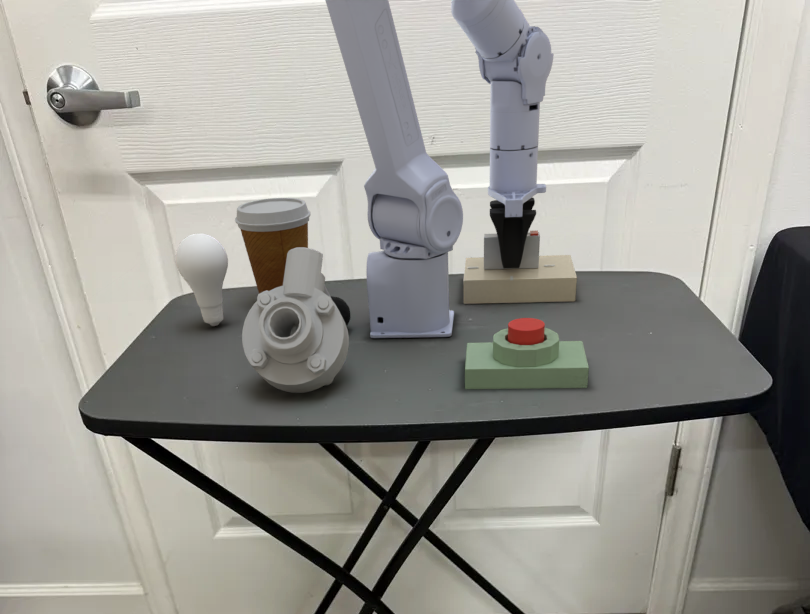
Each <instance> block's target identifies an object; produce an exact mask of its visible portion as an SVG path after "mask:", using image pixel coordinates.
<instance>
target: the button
mask: <svg viewBox="0 0 810 614" xmlns="http://www.w3.org/2000/svg"><path fill="white" fill-rule="evenodd" d="M545 323H546V322H544V321H543V320H541V319H539V318H533V317H520V318H515V319H513V320H511V321H509V322H508V323H507V328H508V342H509V343H512V344H517V345H535V344H539V343H543V342H544V331H545V328H546V324H545Z"/></svg>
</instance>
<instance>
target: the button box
mask: <svg viewBox="0 0 810 614" xmlns="http://www.w3.org/2000/svg"><path fill="white" fill-rule="evenodd" d="M492 337H493V338H492V342H466V350H465V362H464V363H465V364H464V389H465V390H507V389H508V390H509V389H511V390H512V389H513V390H514V389H515V390H516V389H517V390H518V389H519V390H521V389H523V390H524V389H587V388H588V384H589V383H588V382H589V370H590V367H589V362H588V357H587V354H586V350H585V346H584V342H583V340H565V341H564V340H560V335H559V334H558V333H557V332H555V331H554V330H552V329H550V328H547V327H545V331H544V342H543V343H539V344H535V345H517V344H512V343H509V342H508V327H507V328H502V329H500V330H499V331H497V332H496V333H494V334H493V335H492Z"/></svg>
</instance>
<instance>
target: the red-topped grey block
mask: <svg viewBox="0 0 810 614" xmlns="http://www.w3.org/2000/svg"><path fill="white" fill-rule="evenodd" d="M540 244H541V234H540V232H539V230H529V231H528V234H527V237H526V241H525V246H524V251H523V256H522V261H521V264H520V267H519V268H503V265H502V261H501V255H500V247H499V240H498V236H497V233H484V234H483V257H484V270H486V269H523V268H539V256H540V248H541V247H540V246H541V245H540Z"/></svg>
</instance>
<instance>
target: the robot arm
mask: <svg viewBox="0 0 810 614" xmlns="http://www.w3.org/2000/svg"><path fill="white" fill-rule="evenodd" d="M324 1H325V4H326V7H327V11H328V15H329V17H330V20H331V24H332V28H333V31H334V34H335V38H336V41H337V44H338V48H339V50H340V54H341V57H342V60H343V64H344V67H345V71H346V74H347V78H348V81H349V85H350V87H351V91H352V94H353V97H354V101H355V104H356V107H357V108H356V109H357V111H358V115H359V118H360V121H361V124H362V128H363V131H364V134H365V138H366V140H367V144H368V147H369V151H370V155H371V158H372V161H373V164H374V169H373V171H372V172H371V174H370V175H369V176H368V178H367V179H366V181H365V183H364V184H363V187H364V188H363V189H364V191H365V195H366V199H367V223H368V227H369V229H370V232H371V233H372V235H373V236H374V237H375V238H376V239H378V240H379V247H380V250H378V251H369V253H368V254H367V256H366V257H367V258H366V271H365V272H366V273H365V275H366V290H367V303H368V316H369V327H370V333H369V338H371V339H402V338H404V339H410V338H413V339H414V338H449V337H451V336H452V334H453V328H454V319H455V311H454V310H452V309H451V310H450V282H449V281H450V280H449V279H450V278H449V277H450V276H449V274H450V273H449V252H452V251H453V250H454V246H455V244H456V243H457V241H458V240H459V238H460V235H461V233H462V229H463V224H464V211H463V205H462V202H461V200H460V198H459V196H457V194H456V192H454V190H453V189H452V188H453V187H452V186H451V183H450V179H449V175H448V173H447V172H446V171H445V170H444V169H443V168H442V167H441V166H440V165H439V164H438V163H437V162H436V161H435V160H434V159H433V158H432V157H431V156H430V155H429V154H428V153H427V150H426V146H425V142H424V137H423V134H422V131H421V126H420V121H419V118H418V114H417V113H418V112H417V110H416V105H415V102H414V98H413V94H412V90H411V86H410V85H411V84H410V82H409V78H408V73H407V70H406V66H405V65H406V64H405V62H404V57H403V53H402V50H401V46H400V41H399V38H398V34H397V30H396V26H395V22H394V18H393V13H392V10H391V5H390V1H389V0H324ZM450 12H451V16H452V18H453V19H454V20H455V22H456V23H457V24H458V26H459V27H460V29H461V30H462V31H463V33H464V34H465V36H466V37H467V38H468V40H469V41H470V43H471V44H472V45H473V47H474V49H475V52H474V53H475V54H476V55H477V58H478V69H479V73H480V76H481V78H482V80H484V81H485V82H486V83H487V84H489V85H490V91H489V93H490V95H489V96H490V99H489V101H490V103H489V106H490V107H489V185H488V187H487V195H488V197H490V198H492V199H494V200H491V201H489V207H490V208H489V217H490V220H491V222H492V224H493V227H494V229H495V233H496V234H497V236H498V240H499V247H500V255H501V261H502V265H503V268H519V267H520V264H521V261H522V256H523V251H524V246H525V241H526V237H527V234H528V233H529V232H530V228H531V226H532V224H533V222H534V221H535V218H536V216H537V210H536V209H533V208H534V206H535V204H536V200H535V198H534V197H535V196H536V195H537V194H545V193H546V192H547V185H546V184H545V183H538V182H537V181H538V163H539V161H538V160H539V138H540V137H539V136H540V135H539V134H540V112H541V111H540V109H541V103H542V102H543V101H544V97H545V96H546V84H547V81H548V78H549V76H550V73H551V71H552V68H553V62H554V53H553V52H552V44H551V41H550V38H549V37H548V35H547V34H546V33H545V31H543V29H542V28H540V27H539V26H536V25H530V23H529V22H528V20H527V18H526V17H525V15H524V13H523V11H522V10H521V9H520V7H519V6H518V4H517V2H516V1H515V0H451V1H450Z"/></svg>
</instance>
